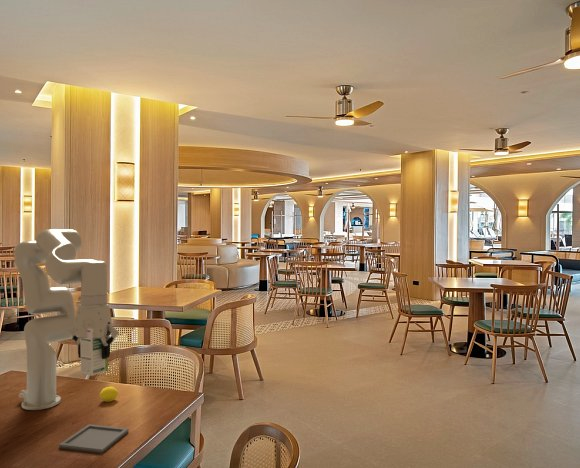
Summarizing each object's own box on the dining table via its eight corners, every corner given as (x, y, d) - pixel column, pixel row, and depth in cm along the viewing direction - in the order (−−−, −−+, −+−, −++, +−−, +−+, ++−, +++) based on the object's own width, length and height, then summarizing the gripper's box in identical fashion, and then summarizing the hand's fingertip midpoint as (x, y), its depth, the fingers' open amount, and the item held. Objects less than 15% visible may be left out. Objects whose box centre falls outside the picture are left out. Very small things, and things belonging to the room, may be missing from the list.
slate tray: (59, 448, 133) (59, 444, 133) (88, 427, 147) (88, 424, 146) (102, 453, 130) (102, 449, 130) (128, 432, 144) (128, 428, 144)
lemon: (115, 398, 173) (117, 384, 174) (119, 403, 169) (121, 388, 170) (96, 400, 169) (98, 385, 170) (99, 404, 165) (102, 389, 165)
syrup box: (91, 376, 137) (91, 328, 137) (79, 373, 140) (79, 326, 140) (108, 371, 142) (108, 325, 142) (96, 368, 145) (96, 323, 145)
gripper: (61, 301, 139) (61, 359, 139) (112, 303, 136) (112, 362, 136) (76, 298, 146) (76, 353, 146) (126, 299, 143) (126, 355, 143)
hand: (94, 356), depth 141 cm, fingers closed on syrup box, 7 cm apart
